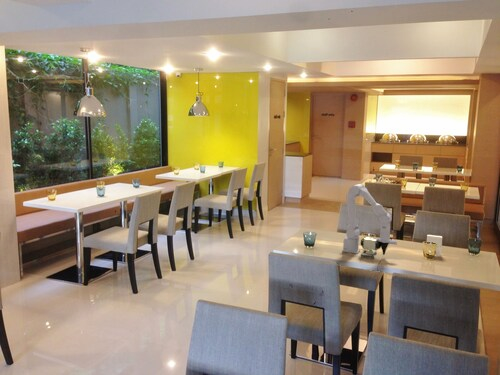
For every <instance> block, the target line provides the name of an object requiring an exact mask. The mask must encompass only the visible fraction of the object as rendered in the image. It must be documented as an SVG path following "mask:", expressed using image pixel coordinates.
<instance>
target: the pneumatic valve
mask: <svg viewBox="0 0 500 375" xmlns="http://www.w3.org/2000/svg"><path fill="white" fill-rule="evenodd" d="M373 238H374V237H372V236H370V237H364V238H362V239H361V240H360V246H361V247H362V249H363V250H368V251H366V253H365V255H371V256H374V257H375V255H376V254H375V252H376V251H378V250H380V249H381V246H380V242H378V240H377V239H378V238H375V239H376V240H373ZM374 251H375V252H374Z"/></svg>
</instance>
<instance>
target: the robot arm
mask: <svg viewBox="0 0 500 375" xmlns="http://www.w3.org/2000/svg"><path fill="white" fill-rule="evenodd" d="M357 197H362V198H364V199H365V200H366V202H368V203H369V204H370V205H371V207H372V211H373V212H374V214H376V216H377V218H379V220H378V221H379V222H380V230H379V231H380V232H379V233H380V234H379V238H374V237H372V238H373V240H376V239H377V240H378V242H380V246H381V247H380V249H381V251H382V255H385V254H386V251H387V248H388V246H389V245H397V244H398V241H397V240H393V239H391V238H390V237H391V222H392V219H393V217H392V215H391V213H389V212H388V211H386V209H385V208H384V206H383V204H380V203H377V202H376V200H375V199H374V197H373V196H372V195H371V193H370V192H369V190H368V189H367V187H365V185H364V184H363V183H358V184H354V185H351V187H350V188H348V192H347V194H346V207H347V208H346V209H347V221H348V224H347V227H346V231H345V235H346V237H343V246H342V252H344V253H352V254H358V253H359V252H360V251H361V250H360V249H359V245H360V244H359V243H360V235H361V234H362V231H361V228H360V226H359V224H358V217H357V210H356V209H357V208H356V207H357V206H356V199H357Z"/></svg>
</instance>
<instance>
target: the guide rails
mask: <svg viewBox="0 0 500 375" xmlns="http://www.w3.org/2000/svg"><path fill="white" fill-rule="evenodd" d="M366 251H368V249H363V253H364V254H362V253H361V254H360V258H364V259H365V258H366V259H374V258H375V255H377V251H376V250H374V252H375V255H374V256H371V255H367V254H366Z"/></svg>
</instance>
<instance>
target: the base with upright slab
mask: <svg viewBox="0 0 500 375" xmlns="http://www.w3.org/2000/svg"><path fill="white" fill-rule="evenodd" d="M427 242H433V243H436V244H437V245H438V246H437V249H436V256H435V257H441V256H442V246H443V236H442V235H434V234H427V235H426V243H427Z"/></svg>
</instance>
